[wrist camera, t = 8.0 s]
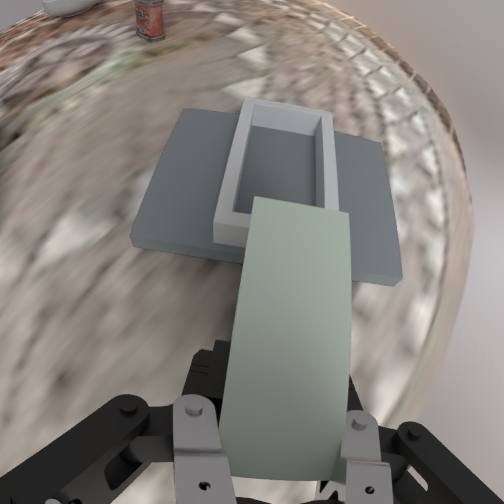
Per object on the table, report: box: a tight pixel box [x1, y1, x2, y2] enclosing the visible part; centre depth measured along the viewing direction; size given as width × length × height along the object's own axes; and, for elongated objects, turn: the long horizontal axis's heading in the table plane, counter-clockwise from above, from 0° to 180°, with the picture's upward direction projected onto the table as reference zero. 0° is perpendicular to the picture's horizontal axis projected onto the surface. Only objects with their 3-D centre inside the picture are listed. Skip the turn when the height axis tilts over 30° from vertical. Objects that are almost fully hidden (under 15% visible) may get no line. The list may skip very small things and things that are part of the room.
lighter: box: [134, 0, 165, 42], centre depth 36 cm, size 8×3×10 cm, turn 37°
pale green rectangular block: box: [218, 196, 351, 481], centre depth 14 cm, size 4×9×11 cm, turn 173°
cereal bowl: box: [43, 0, 101, 17], centre depth 48 cm, size 17×17×7 cm
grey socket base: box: [130, 97, 403, 286], centre depth 25 cm, size 20×15×4 cm
